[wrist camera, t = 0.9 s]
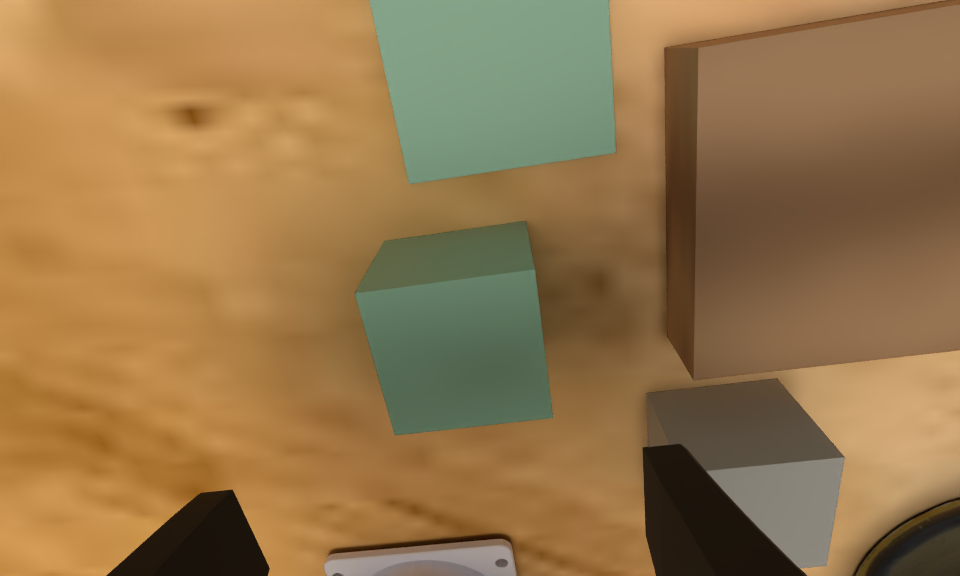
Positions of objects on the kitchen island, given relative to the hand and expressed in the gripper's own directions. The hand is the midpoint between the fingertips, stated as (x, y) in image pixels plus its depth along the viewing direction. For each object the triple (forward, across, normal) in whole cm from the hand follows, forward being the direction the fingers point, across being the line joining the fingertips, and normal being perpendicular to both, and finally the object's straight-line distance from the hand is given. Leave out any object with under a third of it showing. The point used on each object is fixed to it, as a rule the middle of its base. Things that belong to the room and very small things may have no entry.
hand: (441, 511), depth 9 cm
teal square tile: (+9, -2, -7) cm, 11 cm away
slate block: (+9, -8, +7) cm, 14 cm away
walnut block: (+9, -11, -2) cm, 15 cm away
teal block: (+9, 0, 0) cm, 9 cm away
